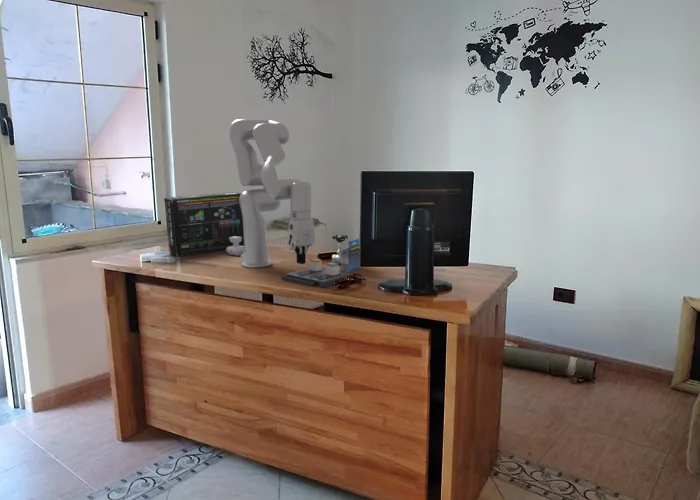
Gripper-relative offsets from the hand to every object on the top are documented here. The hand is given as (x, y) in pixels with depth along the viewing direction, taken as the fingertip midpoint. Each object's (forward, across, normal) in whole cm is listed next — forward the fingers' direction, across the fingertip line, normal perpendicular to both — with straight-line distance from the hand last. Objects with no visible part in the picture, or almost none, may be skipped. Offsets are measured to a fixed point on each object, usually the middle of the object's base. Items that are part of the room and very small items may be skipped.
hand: (301, 263), depth 211 cm
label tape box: (+6, +22, -6) cm, 24 cm away
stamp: (+9, +12, +56) cm, 58 cm away
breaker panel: (+6, +2, -6) cm, 9 cm away
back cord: (+6, +12, -6) cm, 15 cm away
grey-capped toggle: (+3, +5, -11) cm, 13 cm away
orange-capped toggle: (+4, +6, -1) cm, 8 cm away
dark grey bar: (+6, -6, -4) cm, 9 cm away
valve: (+6, +27, +4) cm, 28 cm away
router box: (+10, +10, +75) cm, 77 cm away
